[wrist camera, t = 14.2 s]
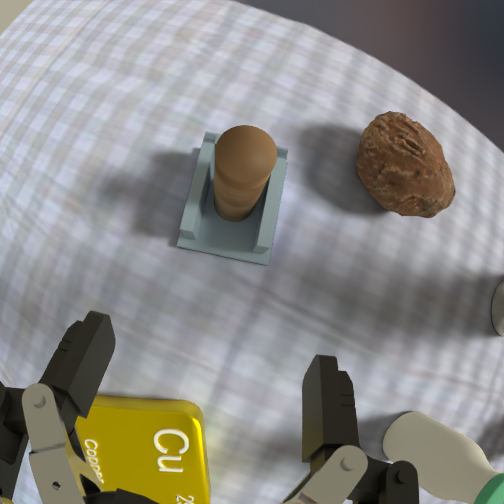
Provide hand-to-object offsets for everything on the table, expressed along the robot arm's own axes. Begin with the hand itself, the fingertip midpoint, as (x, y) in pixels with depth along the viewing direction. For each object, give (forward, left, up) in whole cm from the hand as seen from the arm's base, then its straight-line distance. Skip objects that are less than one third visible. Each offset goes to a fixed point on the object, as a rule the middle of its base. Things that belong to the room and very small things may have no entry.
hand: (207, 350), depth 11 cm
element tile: (+18, +8, -23) cm, 31 cm away
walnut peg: (-9, -8, -21) cm, 24 cm away
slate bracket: (-9, -8, -22) cm, 25 cm away
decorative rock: (-27, +1, -23) cm, 35 cm away
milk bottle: (-8, +30, -23) cm, 38 cm away
